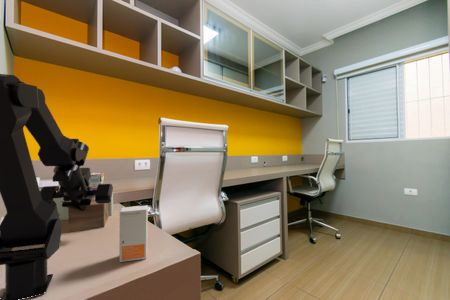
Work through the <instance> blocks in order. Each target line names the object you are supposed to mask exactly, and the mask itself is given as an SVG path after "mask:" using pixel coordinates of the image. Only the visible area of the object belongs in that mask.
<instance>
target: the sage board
mask: <svg viewBox="0 0 450 300" xmlns="http://www.w3.org/2000/svg"><path fill="white" fill-rule="evenodd" d="M53 201H55V203H56V204H57V211H58V213H59V215H60V216H59V219H61V221H65V220H68V207H62V202H61V198H54V199H53ZM113 215H114V191H113V192H112V198H111V202H109V216H110V217H111V216H113Z"/></svg>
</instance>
